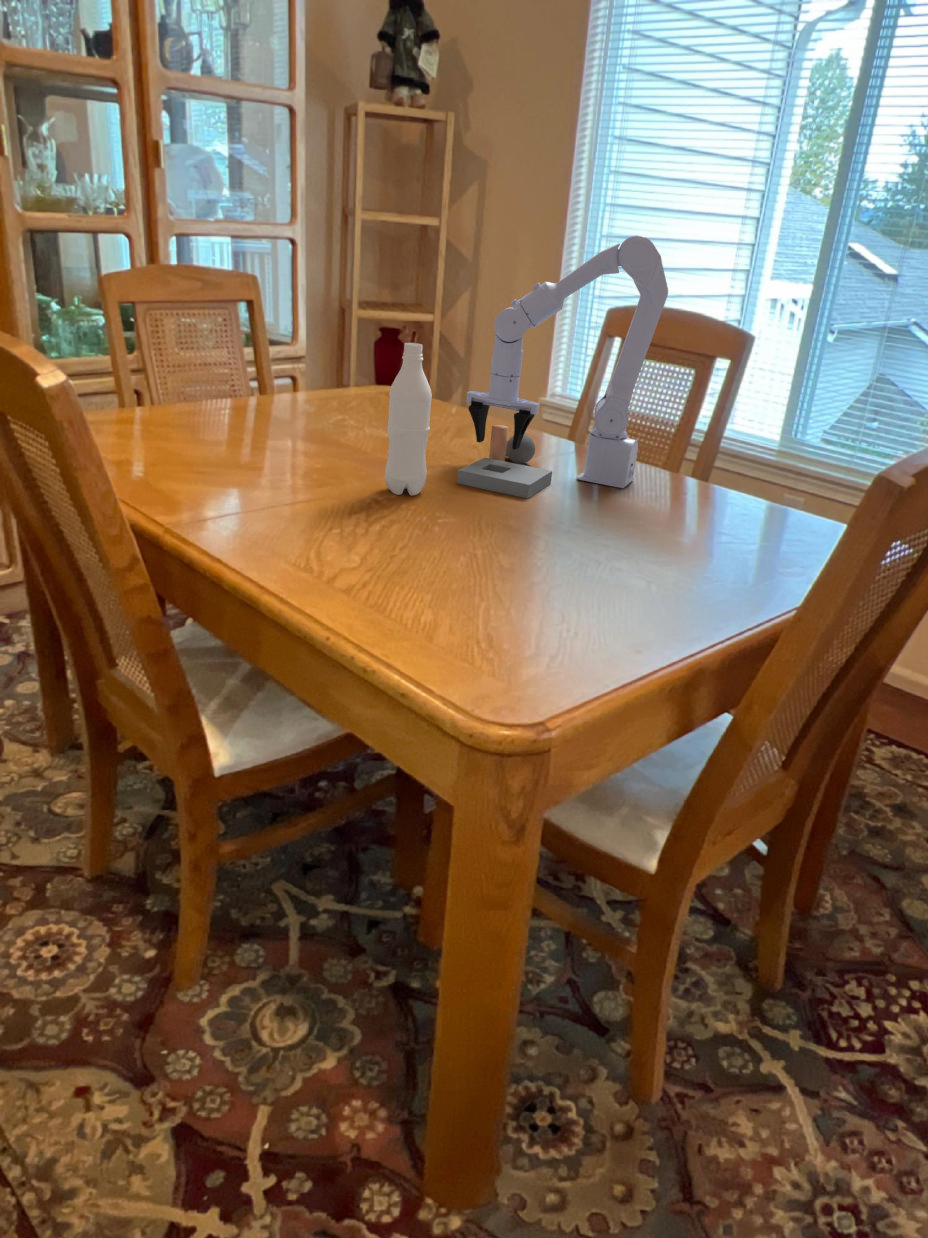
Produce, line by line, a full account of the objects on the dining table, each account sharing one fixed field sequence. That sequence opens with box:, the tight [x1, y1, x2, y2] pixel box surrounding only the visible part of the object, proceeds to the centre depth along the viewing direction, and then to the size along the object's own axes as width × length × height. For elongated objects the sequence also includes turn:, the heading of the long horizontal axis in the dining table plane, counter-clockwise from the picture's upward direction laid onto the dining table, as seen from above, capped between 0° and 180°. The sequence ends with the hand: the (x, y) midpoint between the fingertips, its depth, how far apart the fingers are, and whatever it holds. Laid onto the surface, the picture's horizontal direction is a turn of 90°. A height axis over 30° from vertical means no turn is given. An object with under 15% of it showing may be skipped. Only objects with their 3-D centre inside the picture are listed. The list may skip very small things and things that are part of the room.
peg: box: [488, 424, 509, 462], centre depth 175 cm, size 3×3×8 cm
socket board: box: [456, 457, 553, 499], centre depth 165 cm, size 14×12×2 cm
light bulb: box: [505, 433, 536, 465], centre depth 181 cm, size 6×6×10 cm
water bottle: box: [384, 342, 433, 497], centre depth 150 cm, size 7×7×25 cm
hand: (497, 444), depth 174 cm, fingers open, 7 cm apart
